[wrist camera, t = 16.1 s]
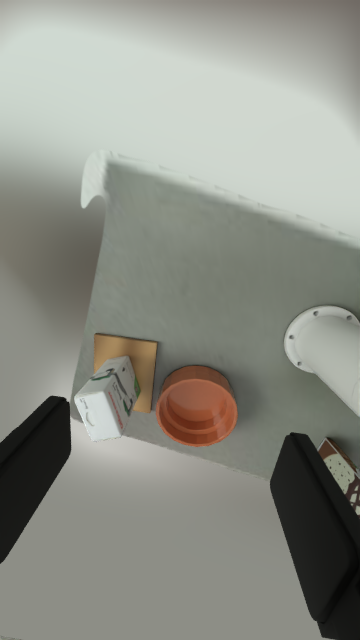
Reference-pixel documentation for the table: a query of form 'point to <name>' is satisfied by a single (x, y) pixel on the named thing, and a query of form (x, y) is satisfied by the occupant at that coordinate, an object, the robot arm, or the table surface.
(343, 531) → the robot arm
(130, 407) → the ink box
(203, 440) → the bowl
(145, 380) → the wooden board
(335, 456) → the food container
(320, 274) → the table surface
